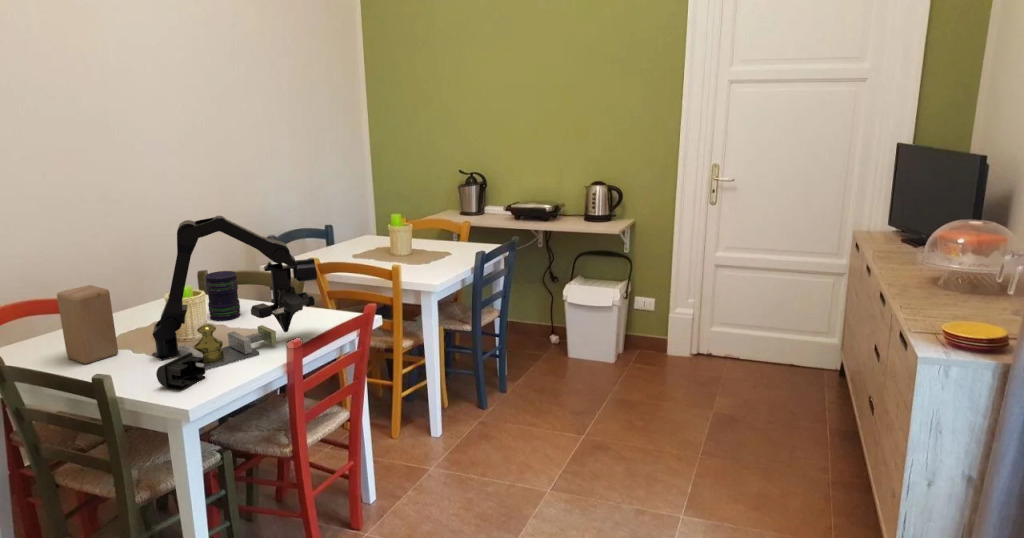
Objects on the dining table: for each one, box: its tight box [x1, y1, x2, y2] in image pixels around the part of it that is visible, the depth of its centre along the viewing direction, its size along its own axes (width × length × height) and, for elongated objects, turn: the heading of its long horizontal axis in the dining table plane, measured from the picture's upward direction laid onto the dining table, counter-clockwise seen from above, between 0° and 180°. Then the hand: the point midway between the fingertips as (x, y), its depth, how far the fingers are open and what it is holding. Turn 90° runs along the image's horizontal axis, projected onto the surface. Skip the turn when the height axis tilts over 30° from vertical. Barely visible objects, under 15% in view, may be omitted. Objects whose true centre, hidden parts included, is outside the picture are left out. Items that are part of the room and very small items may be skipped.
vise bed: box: [178, 344, 260, 371], centre depth 197 cm, size 11×18×5 cm, turn 138°
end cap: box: [155, 353, 207, 392], centre depth 181 cm, size 10×7×7 cm
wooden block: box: [56, 284, 119, 365], centre depth 197 cm, size 10×10×20 cm
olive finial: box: [193, 323, 224, 362], centre depth 194 cm, size 7×7×10 cm
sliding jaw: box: [226, 324, 278, 354], centre depth 204 cm, size 10×10×4 cm
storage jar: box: [205, 270, 241, 322], centre depth 233 cm, size 10×10×15 cm
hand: (285, 332), depth 212 cm, fingers closed
